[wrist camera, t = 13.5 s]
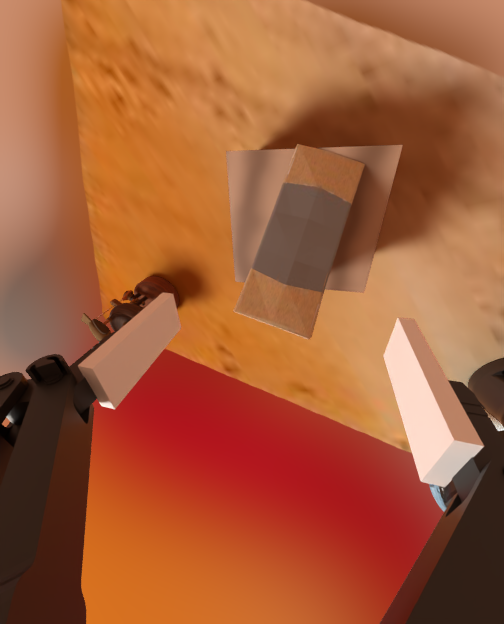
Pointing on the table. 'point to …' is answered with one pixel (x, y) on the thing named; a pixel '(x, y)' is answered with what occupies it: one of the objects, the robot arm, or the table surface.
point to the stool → (264, 192)
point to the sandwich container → (301, 241)
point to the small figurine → (131, 305)
